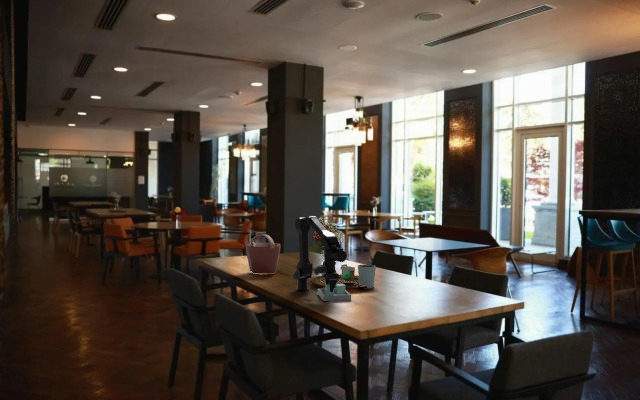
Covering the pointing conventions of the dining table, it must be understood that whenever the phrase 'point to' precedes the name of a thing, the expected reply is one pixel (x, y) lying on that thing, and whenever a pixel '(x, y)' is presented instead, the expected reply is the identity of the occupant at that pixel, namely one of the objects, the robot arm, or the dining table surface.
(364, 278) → the grey green cylinder
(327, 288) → the block
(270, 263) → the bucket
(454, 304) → the dining table surface
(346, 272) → the food container
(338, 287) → the tray
